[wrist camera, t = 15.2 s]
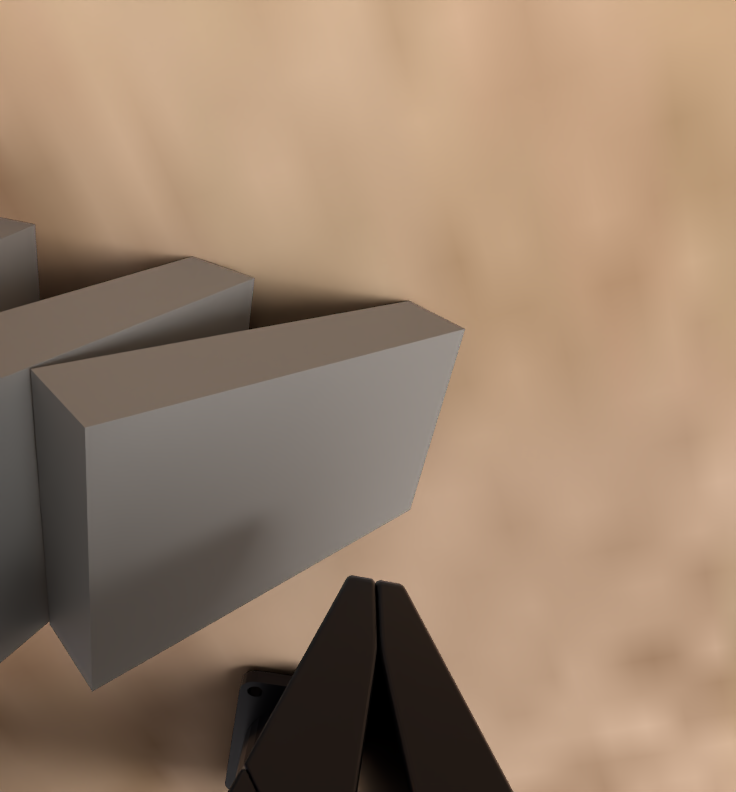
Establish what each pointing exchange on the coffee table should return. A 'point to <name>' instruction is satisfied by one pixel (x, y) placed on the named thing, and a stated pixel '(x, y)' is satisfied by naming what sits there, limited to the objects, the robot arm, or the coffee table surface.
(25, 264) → the domino
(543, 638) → the coffee table surface
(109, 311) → the domino
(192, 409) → the domino
